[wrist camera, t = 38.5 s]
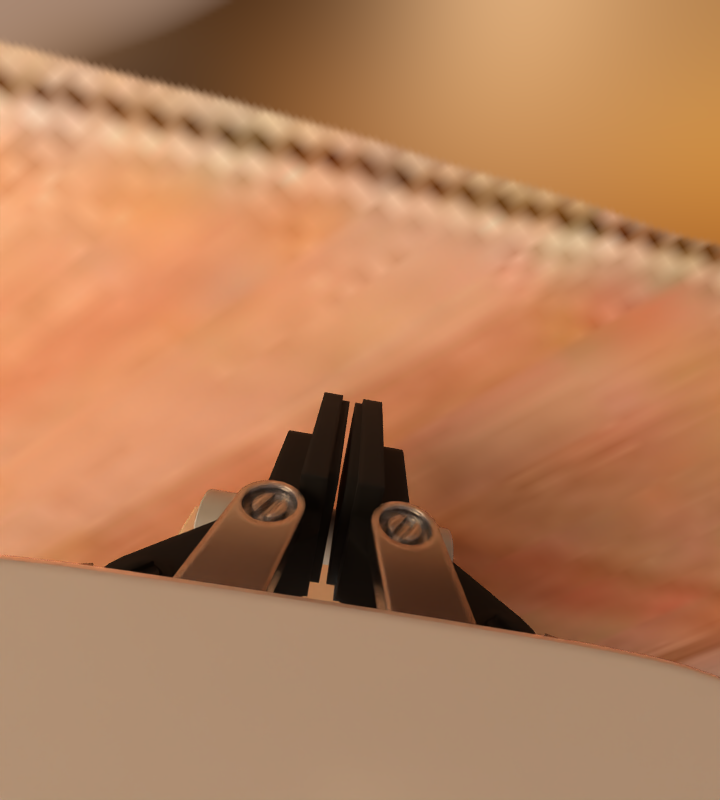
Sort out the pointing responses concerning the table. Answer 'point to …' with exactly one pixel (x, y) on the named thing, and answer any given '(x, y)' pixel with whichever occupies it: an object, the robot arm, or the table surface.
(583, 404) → the table surface
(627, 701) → the robot arm
